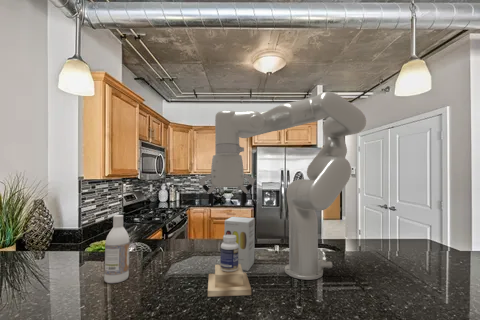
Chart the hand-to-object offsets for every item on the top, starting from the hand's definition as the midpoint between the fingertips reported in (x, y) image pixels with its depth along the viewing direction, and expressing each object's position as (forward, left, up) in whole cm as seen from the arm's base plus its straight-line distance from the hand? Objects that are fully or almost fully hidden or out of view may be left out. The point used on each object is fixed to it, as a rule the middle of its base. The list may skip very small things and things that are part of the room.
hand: (227, 206), depth 79 cm
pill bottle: (-1, +2, -19) cm, 19 cm away
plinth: (0, +2, -24) cm, 24 cm away
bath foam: (+35, -6, -24) cm, 42 cm away
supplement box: (-5, -15, -24) cm, 29 cm away
